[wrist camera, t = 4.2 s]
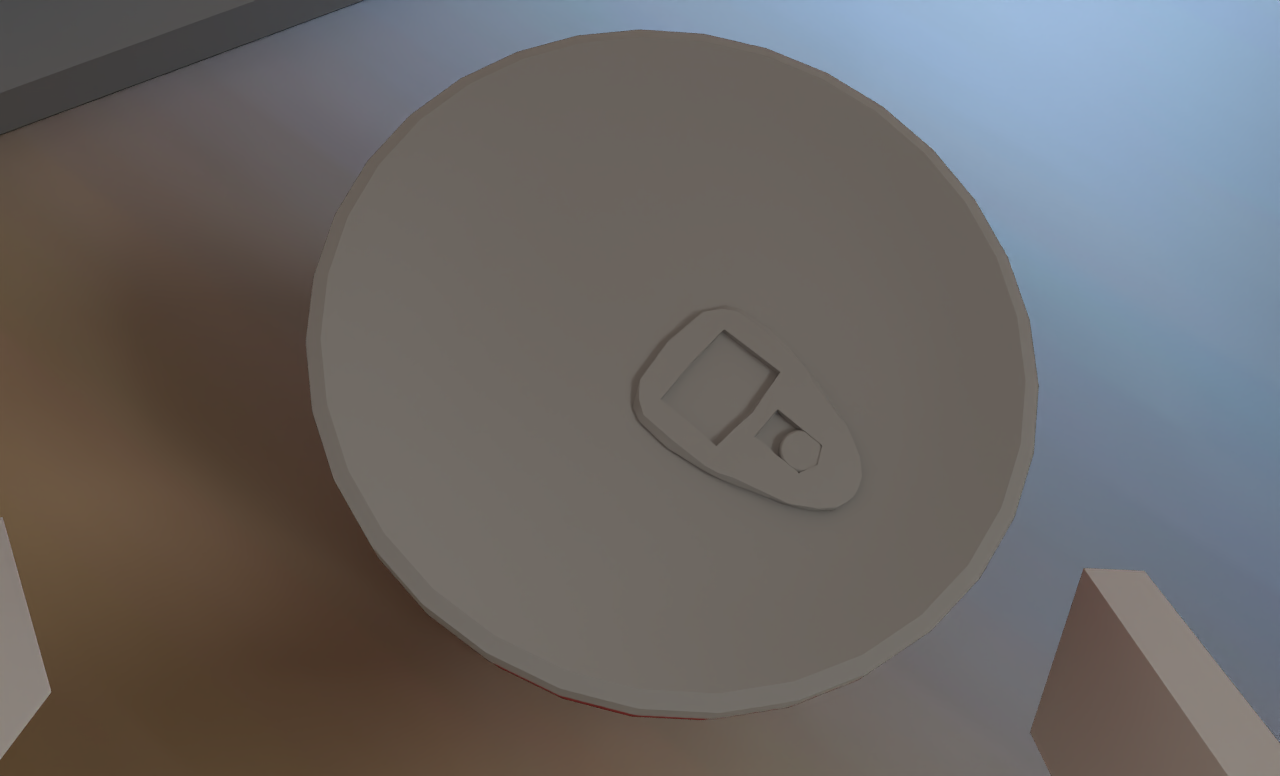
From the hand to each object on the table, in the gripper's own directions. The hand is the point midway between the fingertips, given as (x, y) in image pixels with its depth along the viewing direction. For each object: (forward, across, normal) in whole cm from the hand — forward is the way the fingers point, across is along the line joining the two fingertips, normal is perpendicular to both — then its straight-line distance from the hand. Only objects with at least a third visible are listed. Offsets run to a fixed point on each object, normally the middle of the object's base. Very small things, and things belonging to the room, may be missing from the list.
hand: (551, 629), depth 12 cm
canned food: (+8, +1, -4) cm, 9 cm away
